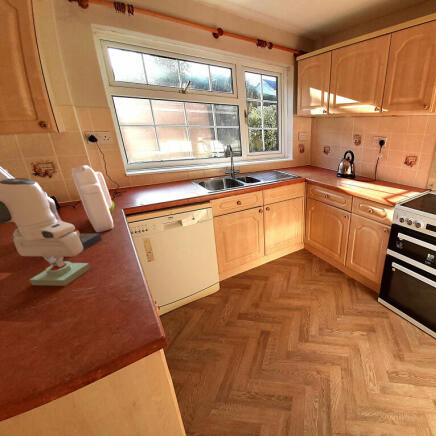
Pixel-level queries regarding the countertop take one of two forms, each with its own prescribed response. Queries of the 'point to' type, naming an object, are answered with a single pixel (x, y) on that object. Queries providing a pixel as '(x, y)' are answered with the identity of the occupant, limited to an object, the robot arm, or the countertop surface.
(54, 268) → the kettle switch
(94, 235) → the dial panel
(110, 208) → the fruit
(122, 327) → the countertop surface
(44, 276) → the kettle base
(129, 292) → the countertop surface
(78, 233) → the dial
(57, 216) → the plastic bottle
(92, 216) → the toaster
